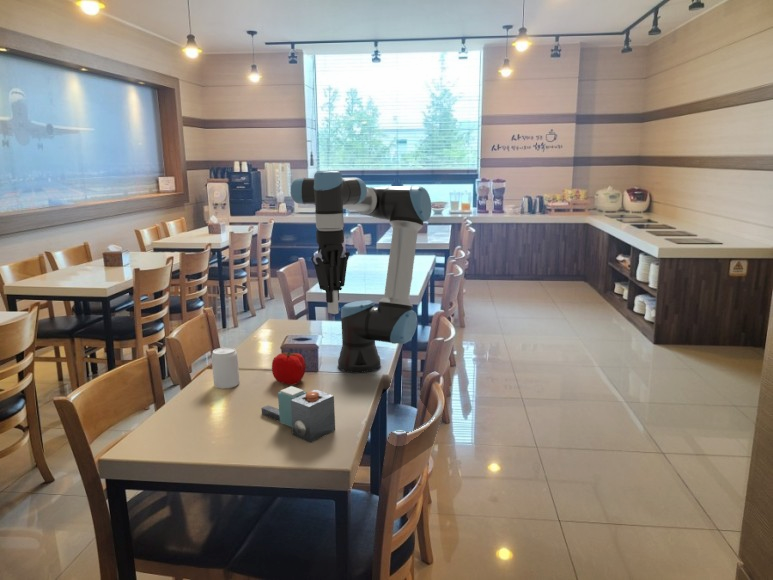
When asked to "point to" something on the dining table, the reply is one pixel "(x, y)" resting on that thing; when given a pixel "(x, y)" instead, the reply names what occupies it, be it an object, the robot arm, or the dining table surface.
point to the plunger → (312, 396)
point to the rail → (271, 412)
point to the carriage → (287, 403)
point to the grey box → (313, 416)
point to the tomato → (288, 368)
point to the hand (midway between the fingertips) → (333, 312)
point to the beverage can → (225, 367)
